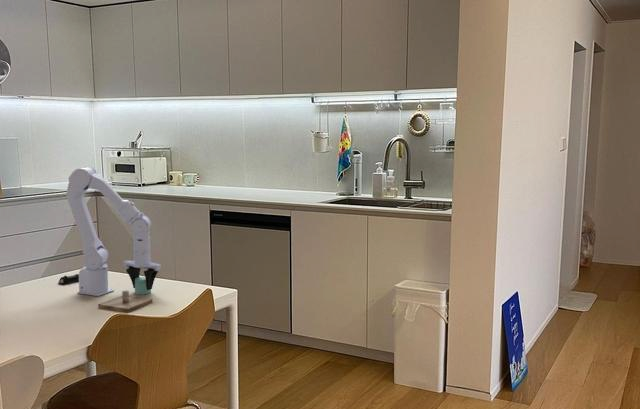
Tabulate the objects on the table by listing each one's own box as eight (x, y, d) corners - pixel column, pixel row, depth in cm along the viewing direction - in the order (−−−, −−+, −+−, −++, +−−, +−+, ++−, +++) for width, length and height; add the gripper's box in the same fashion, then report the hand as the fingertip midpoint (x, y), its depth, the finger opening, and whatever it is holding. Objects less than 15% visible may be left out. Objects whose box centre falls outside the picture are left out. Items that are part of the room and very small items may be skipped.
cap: (132, 293, 212) (131, 279, 212) (141, 289, 217) (141, 276, 216) (144, 295, 210) (143, 281, 210) (153, 291, 215) (153, 277, 214)
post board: (98, 307, 195) (97, 293, 194) (123, 298, 206) (123, 284, 205) (128, 312, 190) (128, 298, 190) (152, 302, 201) (152, 288, 201)
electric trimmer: (100, 278, 234) (100, 270, 233) (63, 285, 221) (63, 277, 221) (95, 277, 236) (94, 269, 236) (57, 284, 223) (57, 275, 223)
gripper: (117, 250, 211) (118, 288, 212) (151, 254, 205) (152, 293, 207) (130, 247, 217) (131, 284, 219) (164, 251, 212) (165, 288, 214)
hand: (142, 288), depth 213 cm, fingers closed on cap, 5 cm apart
